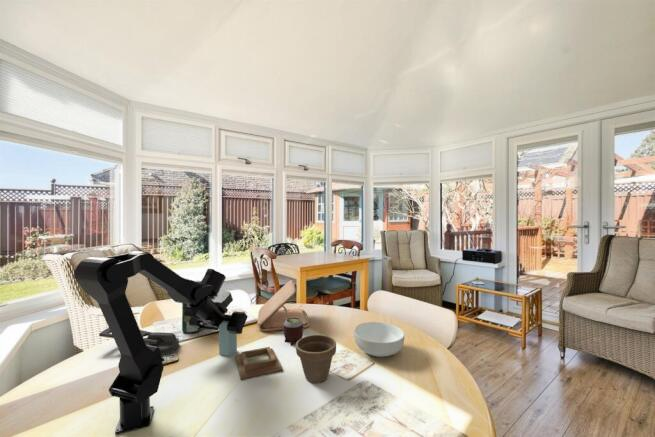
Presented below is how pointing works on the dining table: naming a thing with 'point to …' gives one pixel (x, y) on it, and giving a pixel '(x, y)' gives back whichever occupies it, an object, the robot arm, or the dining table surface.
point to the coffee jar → (187, 321)
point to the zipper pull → (154, 340)
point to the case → (275, 318)
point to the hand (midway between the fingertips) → (229, 330)
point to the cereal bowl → (379, 338)
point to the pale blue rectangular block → (227, 340)
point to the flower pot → (316, 356)
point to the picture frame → (257, 363)
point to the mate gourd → (292, 329)
